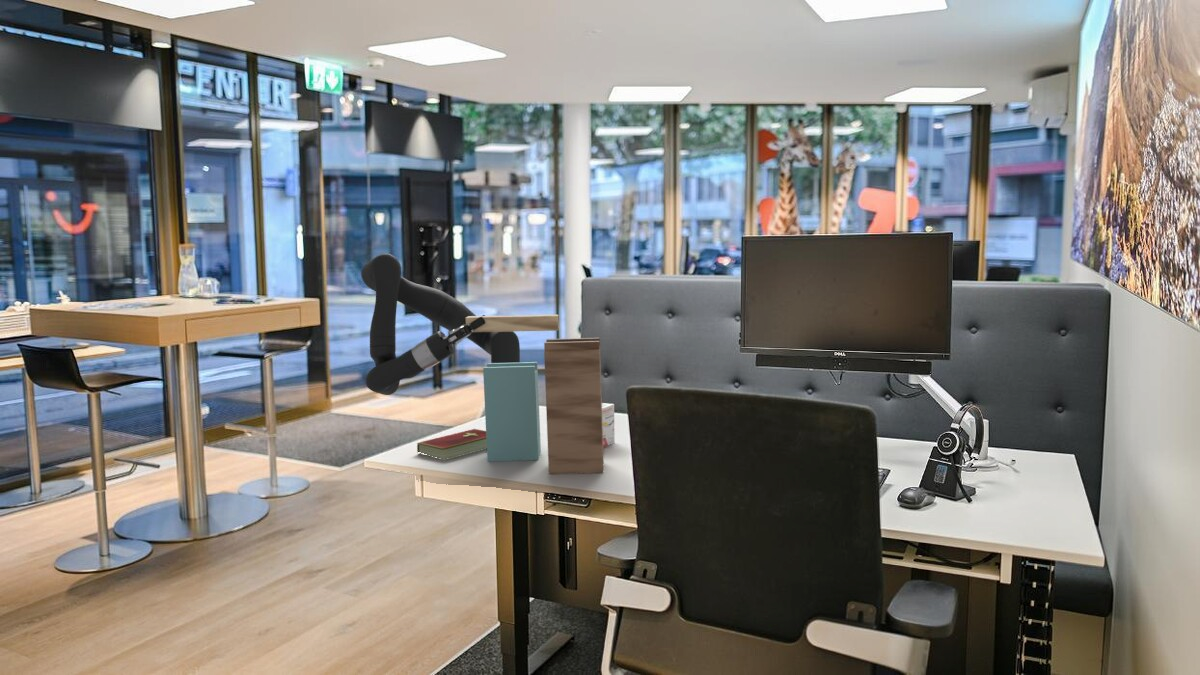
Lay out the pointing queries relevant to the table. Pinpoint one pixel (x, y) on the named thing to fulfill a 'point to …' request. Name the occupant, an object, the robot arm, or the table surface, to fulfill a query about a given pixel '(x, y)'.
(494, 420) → the teal tall block
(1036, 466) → the table surface
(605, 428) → the ink cartridge box
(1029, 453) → the table surface
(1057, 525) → the table surface
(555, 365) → the walnut stand
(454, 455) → the hardcover book
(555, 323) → the oak block
